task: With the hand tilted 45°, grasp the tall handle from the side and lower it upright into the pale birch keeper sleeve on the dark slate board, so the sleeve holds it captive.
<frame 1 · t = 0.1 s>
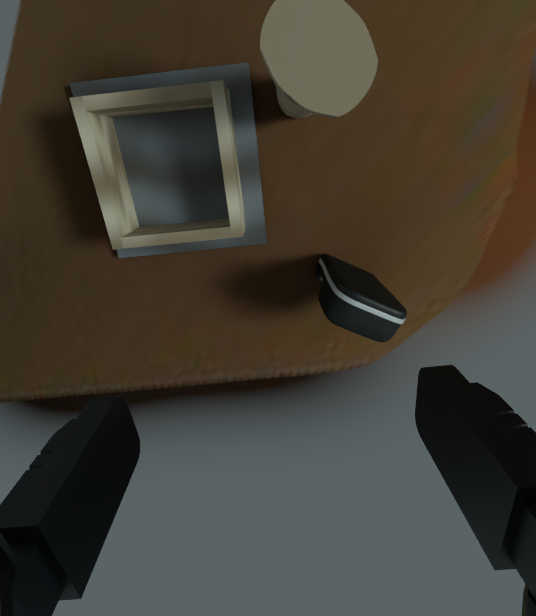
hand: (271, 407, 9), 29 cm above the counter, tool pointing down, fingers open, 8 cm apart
handle: (295, 99, 32), on the counter
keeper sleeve: (179, 170, 34), on the counter
battery charger: (340, 277, 39), on the counter
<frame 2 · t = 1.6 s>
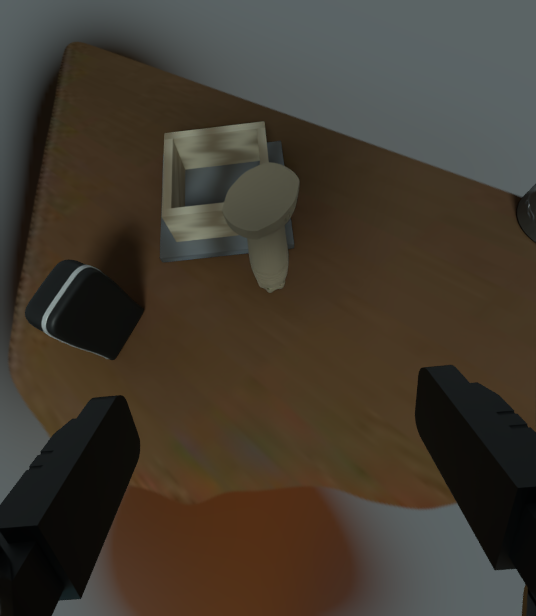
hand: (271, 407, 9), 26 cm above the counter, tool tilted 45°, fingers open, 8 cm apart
handle: (272, 281, 40), on the counter
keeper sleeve: (225, 201, 44), on the counter
battery charger: (118, 329, 39), on the counter
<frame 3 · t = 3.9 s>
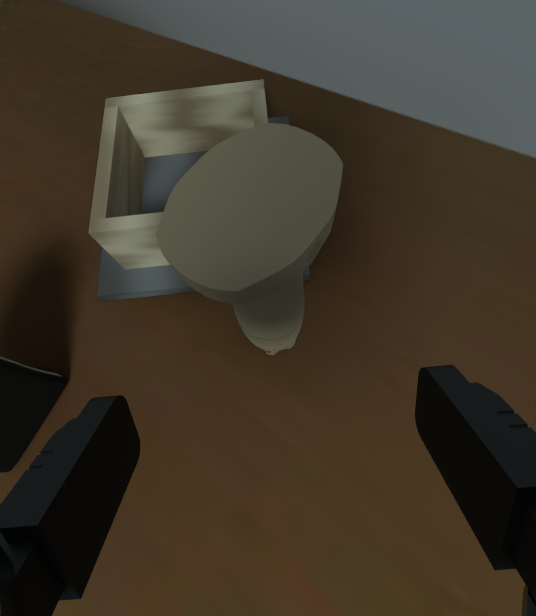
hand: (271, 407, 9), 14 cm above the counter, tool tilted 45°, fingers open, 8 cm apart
handle: (274, 335, 25), on the counter
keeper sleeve: (204, 205, 29), on the counter
battery charger: (25, 413, 24), on the counter
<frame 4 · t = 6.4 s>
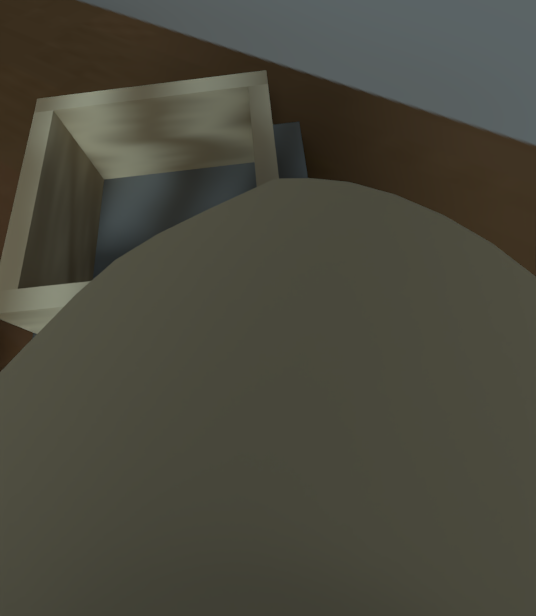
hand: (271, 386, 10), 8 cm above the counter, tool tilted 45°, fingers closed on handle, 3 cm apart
handle: (284, 448, 17), on the counter, touching gripper
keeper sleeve: (184, 246, 21), on the counter
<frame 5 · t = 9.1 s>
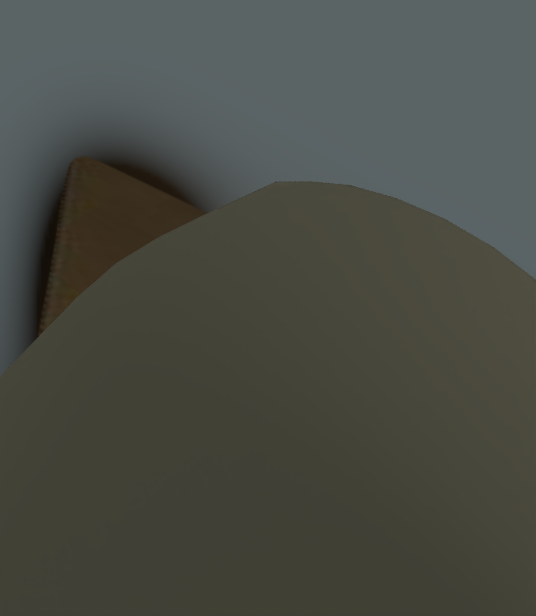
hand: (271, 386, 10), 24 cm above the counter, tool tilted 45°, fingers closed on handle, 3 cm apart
handle: (284, 449, 17), point 16 cm above the counter, touching gripper
when the fingers open (10 cm above the counter, at t = 12.2 s): handle drops 1 cm, resting on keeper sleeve.
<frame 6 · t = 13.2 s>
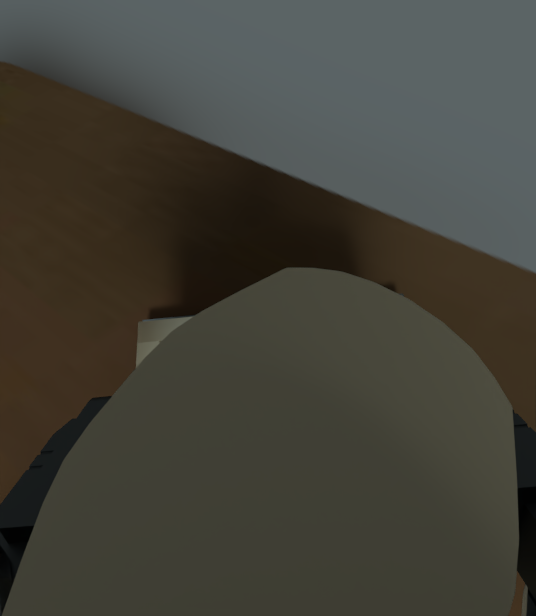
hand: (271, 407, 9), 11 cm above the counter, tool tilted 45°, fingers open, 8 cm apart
handle: (287, 452, 18), point 1 cm above the counter, touching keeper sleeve
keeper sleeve: (284, 447, 19), on the counter
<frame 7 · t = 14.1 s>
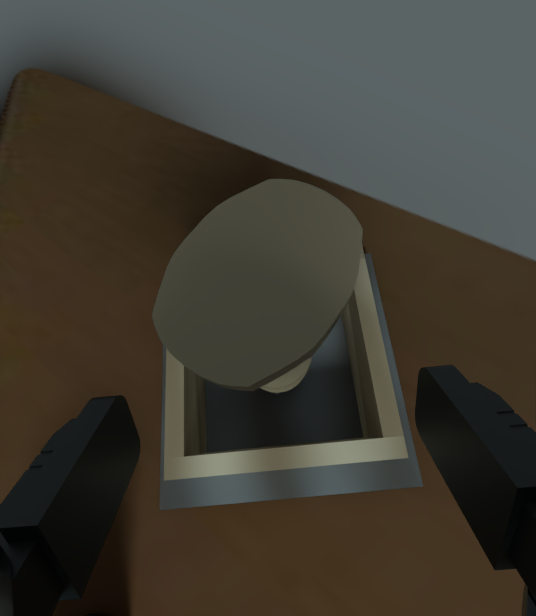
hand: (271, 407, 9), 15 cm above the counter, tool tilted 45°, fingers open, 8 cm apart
handle: (279, 370, 23), point 1 cm above the counter, touching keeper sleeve
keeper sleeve: (277, 369, 24), on the counter
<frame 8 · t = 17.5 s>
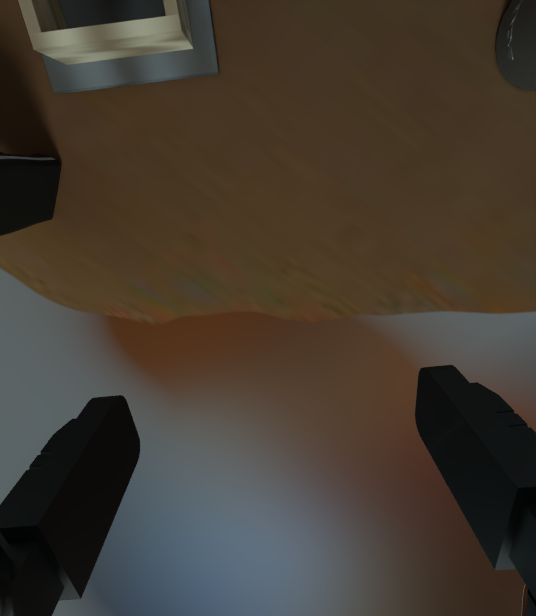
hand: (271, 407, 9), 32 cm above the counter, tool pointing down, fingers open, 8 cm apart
battery charger: (42, 184, 37), on the counter
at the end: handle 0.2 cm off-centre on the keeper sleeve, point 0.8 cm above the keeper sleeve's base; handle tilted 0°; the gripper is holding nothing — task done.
